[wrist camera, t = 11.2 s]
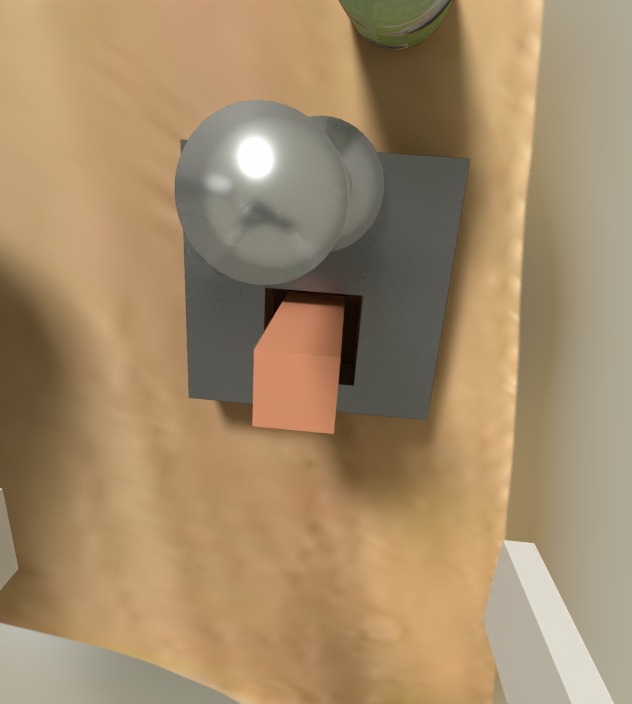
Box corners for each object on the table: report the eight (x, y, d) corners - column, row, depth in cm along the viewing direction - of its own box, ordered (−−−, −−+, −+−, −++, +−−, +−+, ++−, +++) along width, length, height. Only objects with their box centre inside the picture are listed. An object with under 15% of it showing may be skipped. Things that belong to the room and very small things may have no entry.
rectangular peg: (285, 345, 34) (252, 426, 23) (288, 291, 33) (254, 349, 22) (340, 350, 34) (333, 433, 23) (345, 296, 33) (340, 357, 21)
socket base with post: (206, 375, 36) (1, 643, 15) (201, 118, 29) (-156, -27, 9) (419, 394, 35) (512, 706, 14) (459, 135, 29) (727, 17, 8)
